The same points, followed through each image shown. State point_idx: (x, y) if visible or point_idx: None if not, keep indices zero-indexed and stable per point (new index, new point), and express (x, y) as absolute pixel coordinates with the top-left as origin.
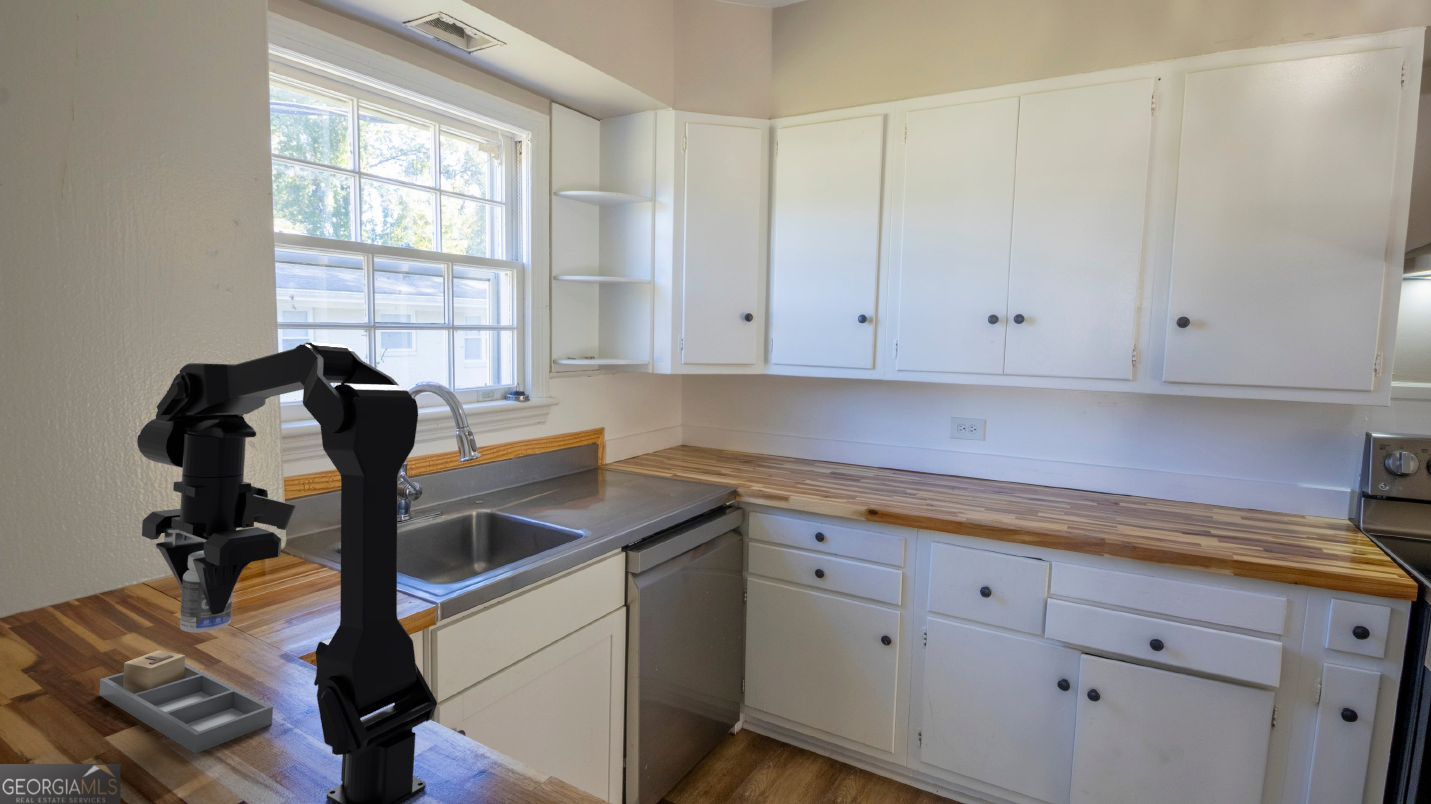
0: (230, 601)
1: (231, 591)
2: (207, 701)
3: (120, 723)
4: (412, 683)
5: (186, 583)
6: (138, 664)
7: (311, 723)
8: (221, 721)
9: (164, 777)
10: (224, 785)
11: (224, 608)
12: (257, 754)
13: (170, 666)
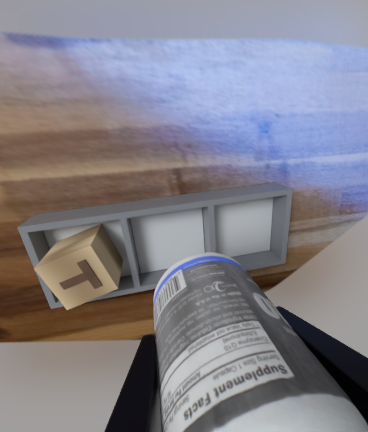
0: (268, 300)
1: (353, 352)
2: (214, 234)
3: None
4: None
5: None
6: (89, 298)
7: (291, 142)
8: (232, 219)
9: (272, 270)
10: (320, 242)
11: (291, 313)
12: (300, 208)
13: (105, 260)
